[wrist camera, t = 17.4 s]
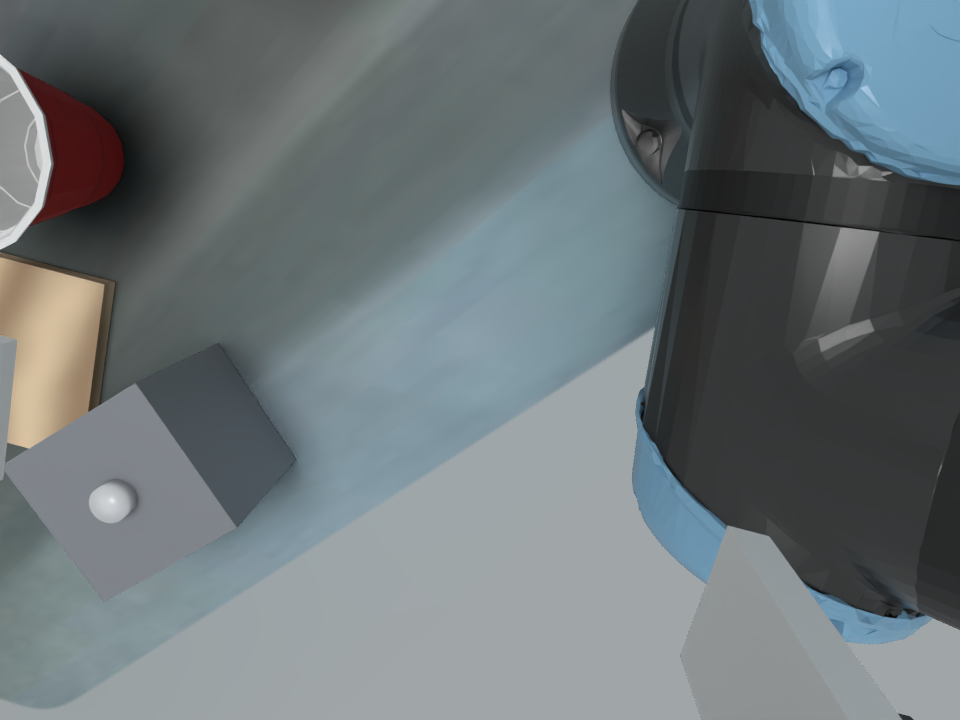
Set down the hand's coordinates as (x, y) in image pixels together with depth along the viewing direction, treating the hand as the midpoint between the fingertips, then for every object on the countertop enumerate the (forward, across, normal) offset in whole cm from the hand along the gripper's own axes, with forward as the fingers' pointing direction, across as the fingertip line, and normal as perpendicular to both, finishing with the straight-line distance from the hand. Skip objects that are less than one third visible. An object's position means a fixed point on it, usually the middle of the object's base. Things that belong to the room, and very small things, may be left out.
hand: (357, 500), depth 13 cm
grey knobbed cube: (+32, -15, -14) cm, 38 cm away
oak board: (+32, -28, -12) cm, 44 cm away
